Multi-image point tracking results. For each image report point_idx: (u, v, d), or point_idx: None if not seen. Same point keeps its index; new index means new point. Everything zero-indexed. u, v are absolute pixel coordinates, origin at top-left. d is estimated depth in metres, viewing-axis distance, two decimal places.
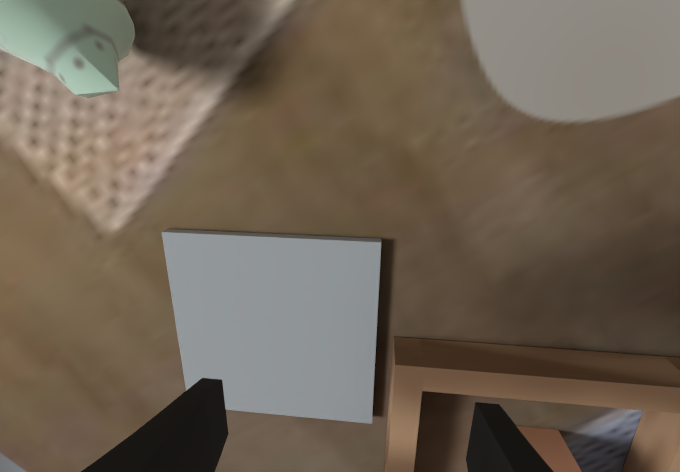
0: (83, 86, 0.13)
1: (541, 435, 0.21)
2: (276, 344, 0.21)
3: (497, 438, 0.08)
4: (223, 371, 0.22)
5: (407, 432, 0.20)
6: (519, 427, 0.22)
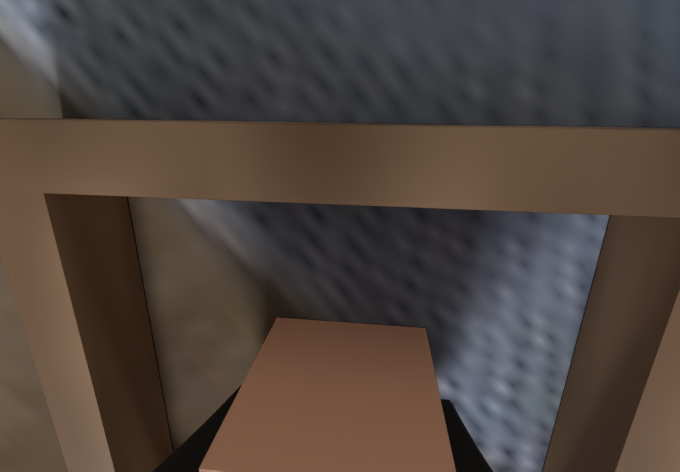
0: None
1: None
2: None
3: None
4: None
5: None
6: None
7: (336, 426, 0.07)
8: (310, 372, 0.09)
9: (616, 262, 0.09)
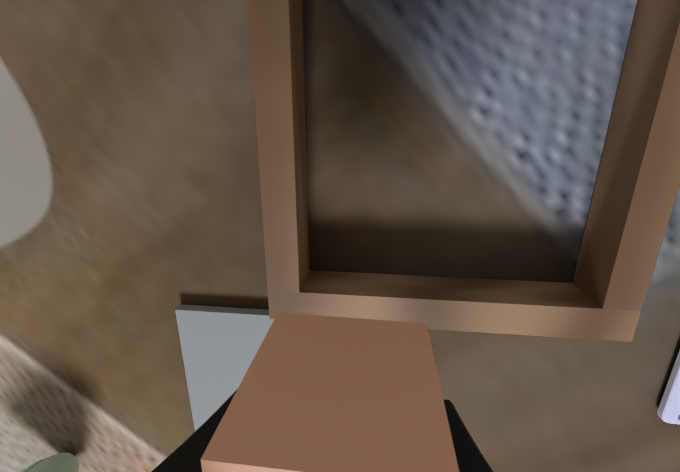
0: None
1: None
2: None
3: None
4: None
5: (361, 306, 0.16)
6: None
7: (338, 419, 0.07)
8: (311, 366, 0.09)
9: (646, 10, 0.13)
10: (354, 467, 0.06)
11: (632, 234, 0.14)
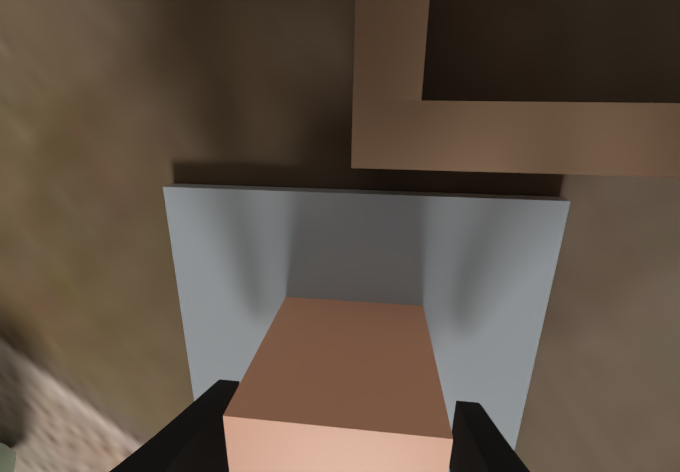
0: None
1: None
2: None
3: (474, 436, 0.08)
4: None
5: (555, 128, 0.08)
6: None
7: (342, 384, 0.08)
8: (317, 341, 0.09)
9: None
10: (358, 422, 0.07)
11: None
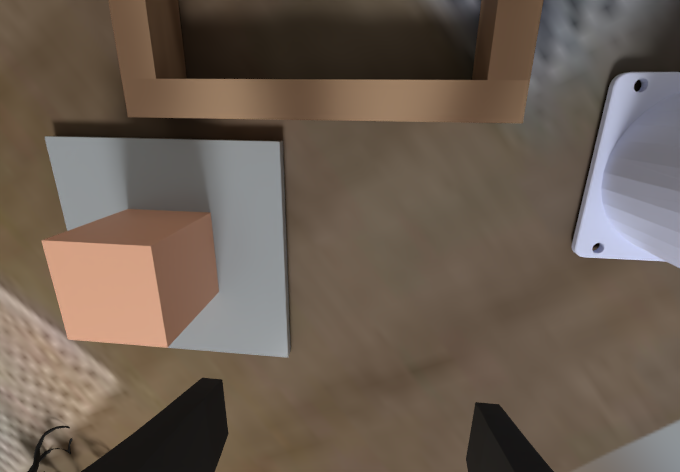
0: None
1: None
2: None
3: (497, 438, 0.08)
4: (234, 313, 0.20)
5: (225, 93, 0.14)
6: None
7: (118, 233, 0.15)
8: (123, 222, 0.16)
9: None
10: (109, 242, 0.14)
11: None
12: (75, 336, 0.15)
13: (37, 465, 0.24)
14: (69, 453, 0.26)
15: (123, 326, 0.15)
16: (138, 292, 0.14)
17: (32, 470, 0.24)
